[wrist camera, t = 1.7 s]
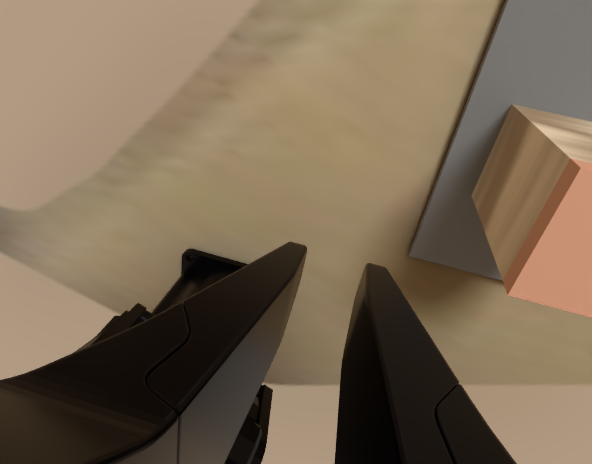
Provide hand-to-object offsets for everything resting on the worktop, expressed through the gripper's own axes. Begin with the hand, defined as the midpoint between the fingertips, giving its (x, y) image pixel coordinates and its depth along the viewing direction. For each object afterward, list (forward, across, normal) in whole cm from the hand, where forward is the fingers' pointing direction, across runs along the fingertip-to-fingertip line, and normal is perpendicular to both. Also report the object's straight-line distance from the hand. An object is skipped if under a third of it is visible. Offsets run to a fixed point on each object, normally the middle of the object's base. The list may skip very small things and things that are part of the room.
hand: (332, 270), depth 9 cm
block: (+12, -8, 0) cm, 15 cm away
